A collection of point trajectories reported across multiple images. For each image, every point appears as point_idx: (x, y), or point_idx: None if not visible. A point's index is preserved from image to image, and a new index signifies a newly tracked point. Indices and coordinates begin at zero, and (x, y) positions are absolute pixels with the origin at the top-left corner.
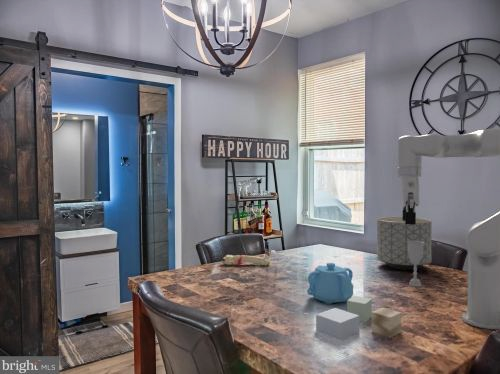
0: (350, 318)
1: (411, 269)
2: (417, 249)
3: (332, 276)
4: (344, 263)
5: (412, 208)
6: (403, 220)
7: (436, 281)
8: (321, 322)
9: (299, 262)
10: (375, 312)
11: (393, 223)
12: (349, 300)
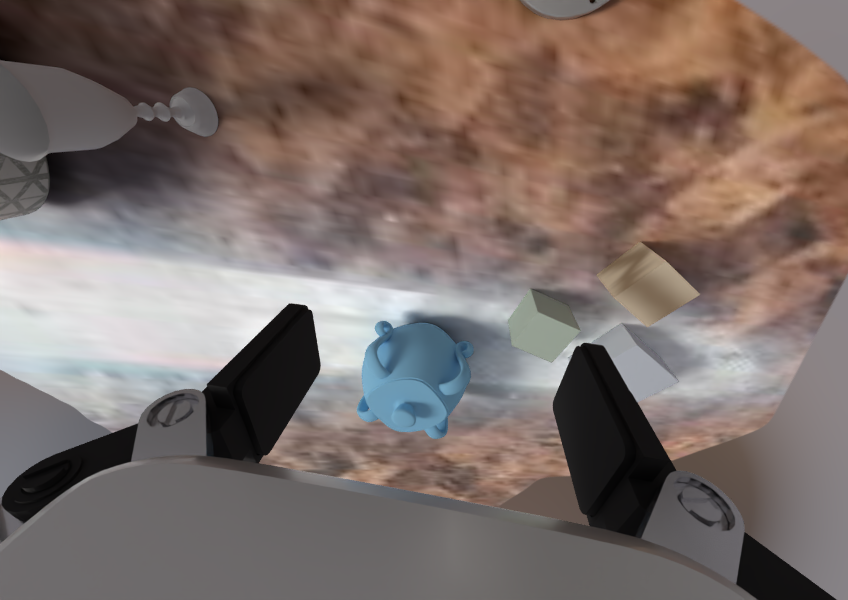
0: (654, 362)
1: None
2: (72, 105)
3: (452, 402)
4: (87, 295)
5: (774, 589)
6: (315, 364)
7: (101, 3)
8: None
9: (155, 386)
10: (653, 319)
11: None
12: (551, 358)
